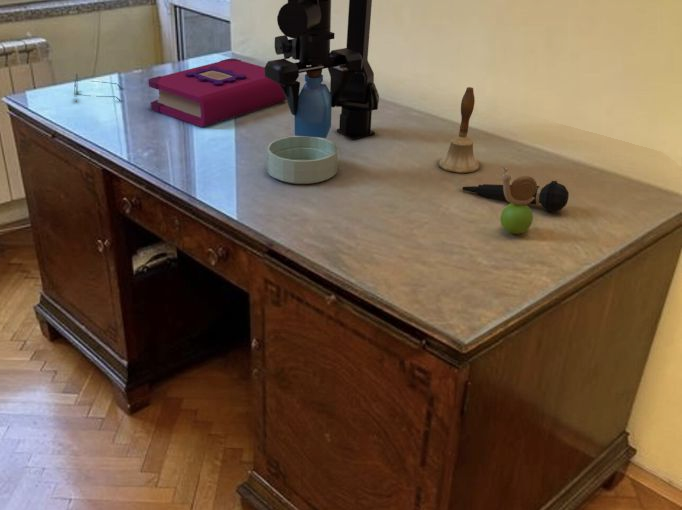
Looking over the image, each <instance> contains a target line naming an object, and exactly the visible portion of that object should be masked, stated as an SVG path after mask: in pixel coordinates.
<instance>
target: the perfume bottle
mask: <svg viewBox="0 0 682 510" xmlns="http://www.w3.org/2000/svg"><path fill="white" fill-rule="evenodd" d="M323 81H324V75H323V69H322V68H321V69H316V70H311V71H308V72H305V74H304V82H305V83H304V84H303V86H302V87H301V89H300V91H299V100H298V109H297V114H296V115H295V116H294V136H306V137H319V138H324V139H327V137H328V135H329V132H330V130H331V128H332V109H333V107H332V95H331V93H330V88H329V87H328V86H327V84H325V83H323Z"/></svg>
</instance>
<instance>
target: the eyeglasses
mask: <svg viewBox="0 0 682 510" xmlns="http://www.w3.org/2000/svg"><path fill="white" fill-rule="evenodd" d="M75 77H76V80H74V84H73V85H74V86H73V87H74V88H73V89H74V93H73V94H74V95H75V96H77V95H79V96H82V94H79V93H78V91H79V82H80V80H79V79H78V77H79V76H78V73H77V72H76V74H75ZM92 82H94V83H99V81H96V80H92ZM102 83H105V84H108V82H106V81H102ZM110 84H112V85H117V87H118V88H119V89H120V90H121V89H122V87H121V86H120V84H119V83H115V82H110ZM83 96H85V97H90V95H87V94H83ZM99 97H100V98H101V97H102V98H116V99H117V100H118V101H119V102H121V101H122V100H121V99H120V98H118V96H116V95H115V96H114V95H113V96H112V95H97V98H99Z"/></svg>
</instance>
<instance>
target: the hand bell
mask: <svg viewBox="0 0 682 510" xmlns="http://www.w3.org/2000/svg"><path fill="white" fill-rule="evenodd" d="M475 98H476V97H475V92H474V87H471V86H468V87H466V90H465V92H464V94H463V96H462V98H461V102H460V116H461V122H460V126H459V130H458V131H459V132H458V135H457V136H455V137H453V138H451V140H450V144H449V147H448V150H447V152H446V154H445V155H444V157H442V158H441V159H440V160H439V162H438V166H439V167H440V168H442V170H445V171H447V172H453V173H460V174H466V173H467V174H468V173H473V172H476V171H478V170H479V168H480V164H479V162H478V160H477V159H476V158H475V155H474V142H473V139H471V138H469V137H468V132H469V126H470V125H469V124H470V119H471V117H472V114H473V112H474V109H475V101H476V100H475Z"/></svg>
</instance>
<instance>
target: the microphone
mask: <svg viewBox="0 0 682 510" xmlns="http://www.w3.org/2000/svg"><path fill="white" fill-rule="evenodd" d="M510 186H511V184H510ZM461 189H462V191H465V192H470V193H475V194H476V195H477V196H480V197H484V198H490V199H497V200H502V201H507V200H506V198H505V195H504V190H503V184H493V183H491V184H490V183H483V184H478V185H473V186H472V185H471V186H462V188H461ZM569 195H570V193H569V190H568V189H567V187H566V186H565V185H564V184H562V183H559V182H558V180H551V181H550V182H549V183H546V184H545V185H544V186H543V187H542V186H541V185H537V190H536V193H535V194H534V195H533V196H532V197H534V200H533V201H532V202H530V203H529V204H528V205H533V206H534V205H535V206H538V205H540V206H541V207H542V208H543V209H544V210H545V212H547V213H551V214H552V213H553V212H557V211H561V210H562V209H564V208H565V207H566V206H567V204H568V201H569Z"/></svg>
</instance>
